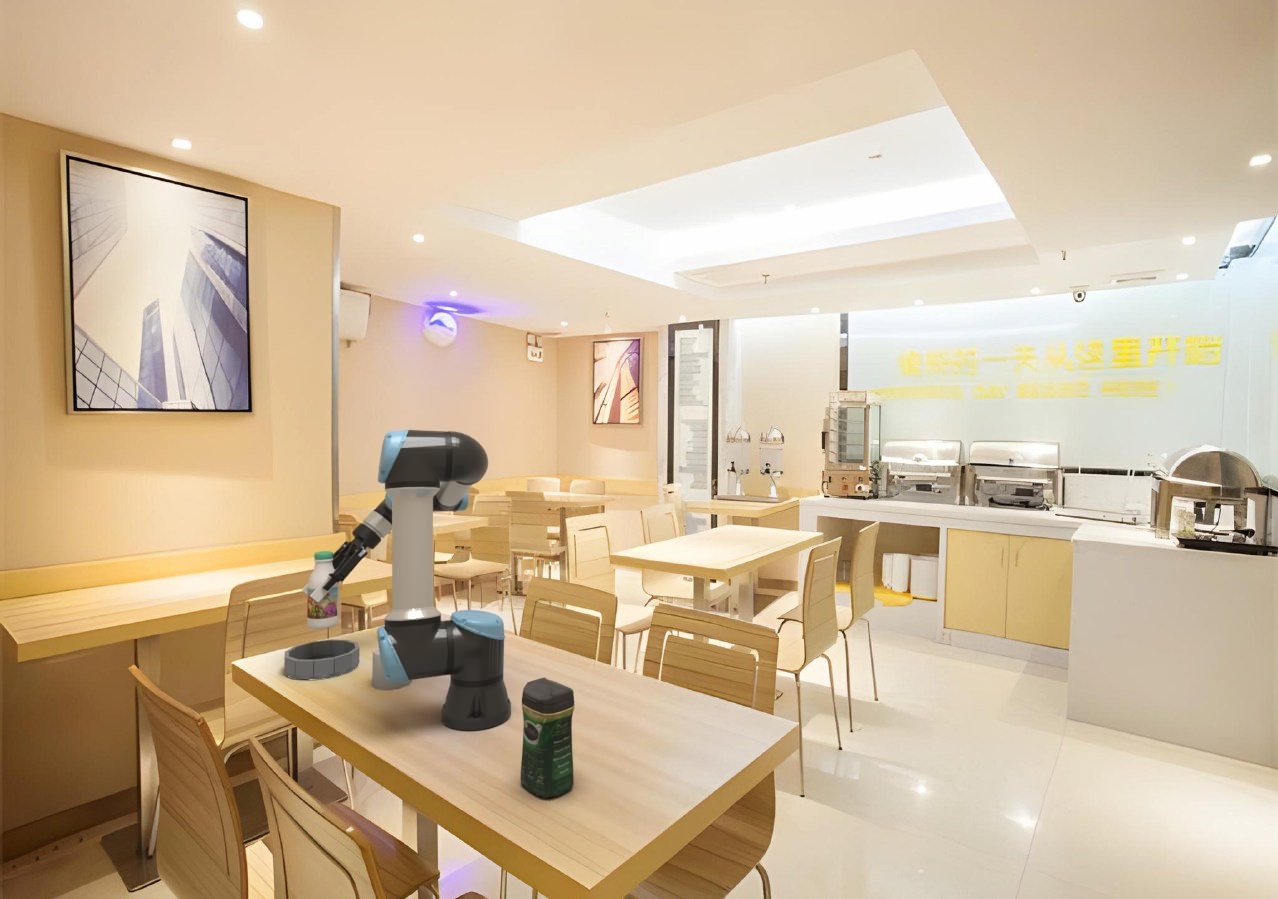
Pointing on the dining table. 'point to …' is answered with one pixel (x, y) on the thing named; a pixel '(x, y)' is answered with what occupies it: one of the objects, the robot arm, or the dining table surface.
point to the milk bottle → (328, 606)
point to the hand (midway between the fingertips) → (309, 596)
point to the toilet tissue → (379, 678)
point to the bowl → (321, 659)
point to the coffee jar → (547, 737)
